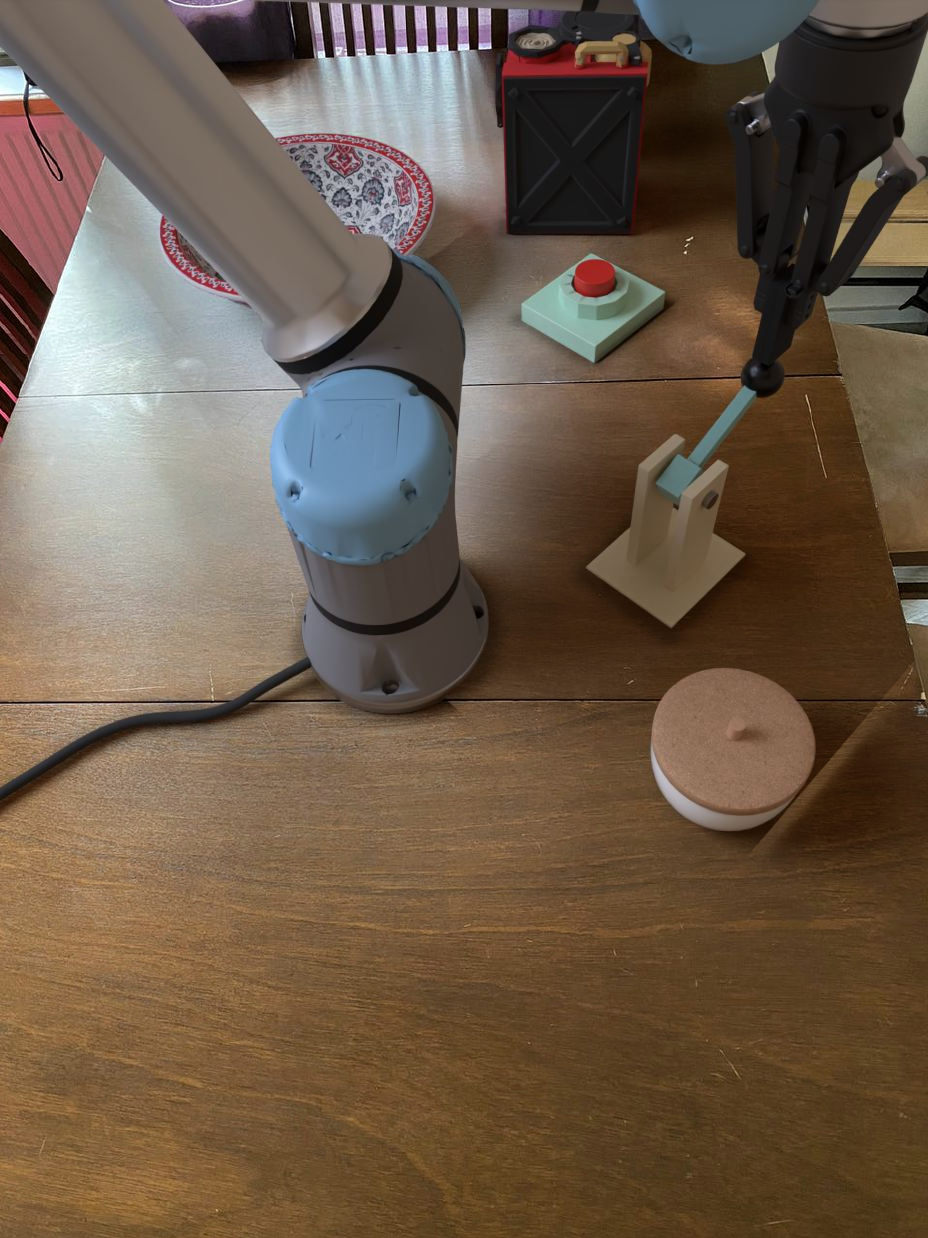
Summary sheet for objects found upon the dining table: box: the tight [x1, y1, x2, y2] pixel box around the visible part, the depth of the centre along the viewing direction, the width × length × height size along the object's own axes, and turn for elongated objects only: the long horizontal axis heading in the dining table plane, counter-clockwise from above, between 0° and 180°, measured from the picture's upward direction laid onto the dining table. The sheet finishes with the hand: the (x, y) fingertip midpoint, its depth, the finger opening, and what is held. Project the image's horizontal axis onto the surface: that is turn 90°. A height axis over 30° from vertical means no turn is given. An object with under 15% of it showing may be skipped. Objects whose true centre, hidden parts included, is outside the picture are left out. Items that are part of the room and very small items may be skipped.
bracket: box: [585, 433, 746, 629], centre depth 77 cm, size 10×9×13 cm
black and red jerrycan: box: [493, 24, 653, 235], centre depth 103 cm, size 16×10×20 cm, turn 84°
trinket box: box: [650, 667, 817, 832], centre depth 67 cm, size 11×11×9 cm
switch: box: [656, 357, 786, 507], centre depth 73 cm, size 13×3×3 cm, turn 135°
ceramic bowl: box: [157, 132, 437, 310], centre depth 104 cm, size 29×29×8 cm
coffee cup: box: [555, 11, 641, 62], centre depth 112 cm, size 9×9×15 cm
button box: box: [520, 252, 666, 364], centre depth 99 cm, size 11×10×4 cm
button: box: [574, 259, 615, 298], centre depth 97 cm, size 4×4×2 cm
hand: (771, 351), depth 71 cm, fingers closed
